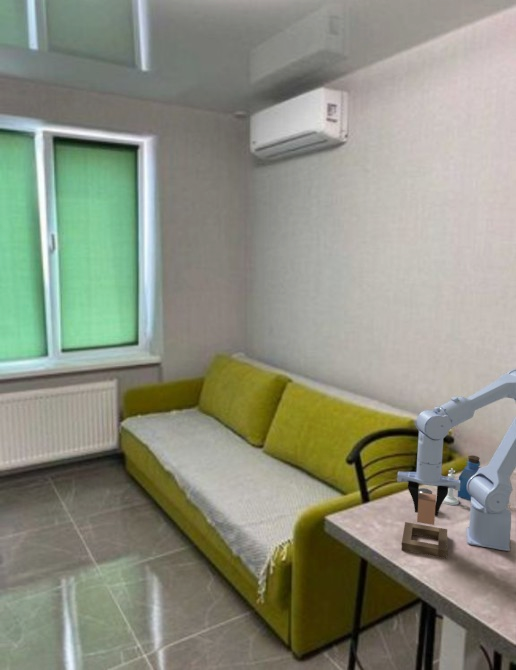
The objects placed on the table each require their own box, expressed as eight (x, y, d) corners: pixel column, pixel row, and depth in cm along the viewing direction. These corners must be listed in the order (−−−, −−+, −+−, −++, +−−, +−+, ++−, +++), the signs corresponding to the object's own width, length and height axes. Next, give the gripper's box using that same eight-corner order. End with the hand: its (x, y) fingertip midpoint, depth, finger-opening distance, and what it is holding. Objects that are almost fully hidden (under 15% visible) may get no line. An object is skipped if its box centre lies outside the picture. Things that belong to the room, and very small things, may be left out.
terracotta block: (434, 517, 130) (436, 494, 129) (434, 525, 126) (435, 501, 125) (417, 514, 131) (419, 492, 130) (417, 522, 127) (418, 499, 127)
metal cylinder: (431, 506, 149) (432, 489, 148) (430, 512, 145) (431, 495, 144) (416, 503, 150) (417, 487, 149) (416, 510, 146) (416, 493, 146)
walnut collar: (446, 536, 133) (447, 529, 132) (446, 558, 123) (447, 550, 123) (404, 529, 136) (405, 521, 136) (401, 550, 126) (401, 542, 126)
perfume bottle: (463, 489, 160) (465, 451, 158) (484, 494, 156) (487, 456, 154) (457, 496, 155) (460, 458, 153) (479, 502, 151) (482, 463, 149)
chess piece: (460, 505, 149) (462, 472, 147) (442, 504, 150) (444, 471, 148) (457, 498, 154) (459, 466, 152) (439, 496, 155) (441, 464, 153)
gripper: (461, 458, 127) (457, 509, 130) (400, 450, 132) (397, 500, 134) (461, 469, 121) (458, 523, 123) (397, 460, 126) (395, 512, 128)
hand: (426, 512), depth 128 cm, fingers closed on terracotta block, 4 cm apart
